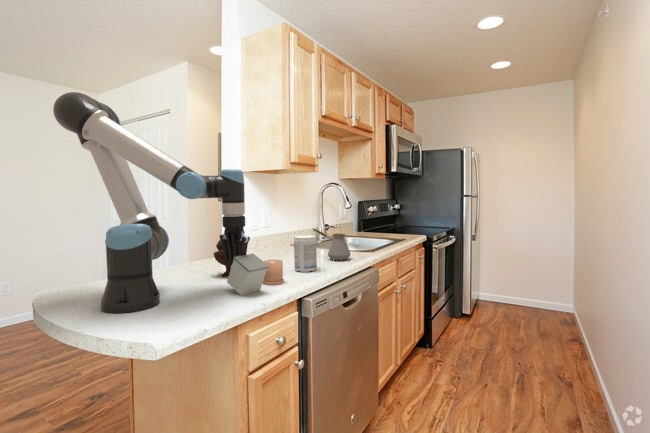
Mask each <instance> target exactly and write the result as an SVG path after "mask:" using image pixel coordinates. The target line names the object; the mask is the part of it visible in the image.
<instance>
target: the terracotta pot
mask: <svg viewBox="0 0 650 433" xmlns="http://www.w3.org/2000/svg"><path fill="white" fill-rule="evenodd" d="M263 262H264V263H266V264H267V265H268V266H269V267H268V268H267V271H266V274H265V277H264V280H263V283H262V285H265V286H280V285H282V284H284V283H285V279H284V273H283V272H284V271H283V270H284V268H283V267H284V266H283V265H284V264H283V263H284V262H283V260H281V259H266V260H263ZM279 284H280V285H279Z"/></svg>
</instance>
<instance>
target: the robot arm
mask: <svg viewBox="0 0 650 433" xmlns="http://www.w3.org/2000/svg"><path fill="white" fill-rule="evenodd" d="M52 110H53V116H54V119H55V120H56V121H57V123H58V124H59V125H60V126H61V127H62V128H63V129H65V130H67V131H69V132H72V133H74V134H76V136H77V138H78V140H79V142H80V145H81V148H83V149H85V150H87V151H89V152H90V155H91V156H92V159H93V160H94V163H95V165H96V167H97V170H98V172H99V174H100V176H101V178H102V181H103V184H104V186H105V188H106V190H107V192H108V195H109V197H110V200H111V202H112V205H113V207H114V209H115V212H116V214H117V216H118V218H119V221H120V223H119V225H115V226H112V227H110V228H108V229H107V231H106V233H105V240H104V244H105V254H106V256H105V257H106V276H107V277H106V278H107V281H106V285H105V288H104V292H103V294H102V297H101V301H100V310H101V311H102V312H105V313H111V314H112V313H113V314H115V313H116V314H119V313H132V312H138V311H142V310H147V309H150V308H152V307H155V306H157V305H159V303H160V302H161V300H160V296H161V295H160V292H159V290H158V287H157V285H156V282H155V279H154V277H153V276H154V275H153V261H154V260H156V259H159V258H160V257H161V256H163V255H164V253H166V251H167V249H168V247H169V243H170V238H169V234H168V232H167V231H166V229H165V228H164V227H162V226H161V225H160V223H159V221H158V218H157V217H156V215H155V214H153V213H151V212H149V210H148V207H147V206H146V203H145V201H144V198H143V196H142V193H141V191H140V189H139V186H138V185H137V184H138V183H137V181H136V179H135V178H134V177H135V176H134V175H133V173H132V169H131V168H130V166H129V163H131V164H133V165H135V166H136V167H138V168H139V169H141V170H142V171H144V172H146V173H147V174H149V175H151V176H152V177H154V178H156V179H157V180H159V181H161V182H163V183H164V184H166V185H167V186H169V187H171V188H172V189H173V190H175V191H176V192H178V194H179V195H180V196H182V197H184V198H186V199H188V200H196V199H220V198H221V214H222V220H221V223H222V228H224V231H223V232H224V233H223V234H220V235H219V240H221V242H222V247H223V252H224V257H225V262H226V263H229V265H230V270H231V267H232V264H233V260H234V259H233V258H234V257H236V256H242V255H247V252H248V245H249V242H250V240H251V236H247V235H245V230H244V227H245V226H246V216H245V213H246V209H245V208H246V207H245V179H244V178H245V177H244V176H245V175H244V171H243V170H241V169H235V168H234V169H233V168H231V169H229V168H228V169H221V170H220V174H218V175H201V174H199V173H198V172H196V171H194V170H193V169H191V168H190V167H187V165H185V164H183V163H181V161H178V160H176V159H175V158H173V157H172V156H170V155H169V154H167V153H165V152H164V151H162V150H161V149H159V148H158V147H156V146H154V145H152V144H151V143H149V142H148V141H146V140H145V139H143V138H141V137H140V136H138V135H137V134H135V133H133V132H132V131H130V130H129V129H127V128H125V127H124V126H123V125H121V120H120V117H119V116H118V114H117V113H116V112H115V111H114V110H113V109H112V108H111V107H110V106H109V105H107V104H105V103H104V102H100V101H98V100H96V99H94V98H92V97H91V96H89V95H87V94H85V93H81V92H78V91H75V92H73V91H71V92H66V93H64V94H61V95H60V96H58V97H57V99H56V100H55V102H54V104H53V109H52ZM128 162H129V163H128ZM228 258H229V259H228Z"/></svg>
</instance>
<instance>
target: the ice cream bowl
mask: <svg viewBox="0 0 650 433" xmlns="http://www.w3.org/2000/svg"><path fill="white" fill-rule="evenodd" d="M215 248H216V249H217V251H214V252H213V257H214V259H215V261H217V262H218V264H220V265H223V266H225V271H224V272H223V273H221V275H220V277H223V278H228V277H229V273H230V265H229V263H226V262H225V257H224V252H223V247H222V242H221V240H220V239H219V241H217V244H216V247H215ZM228 259H229V258H228Z"/></svg>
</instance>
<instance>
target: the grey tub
mask: <svg viewBox="0 0 650 433" xmlns="http://www.w3.org/2000/svg"><path fill="white" fill-rule="evenodd" d="M233 259H234V260H233V264H232V267H231V270H230V273H229V277H227V280H226V283H227V284H228V285H229V286H230V287H232V289H234V291H236V293H238V295H240V296H241V297H243V296H246V295H248V294H253V293H256V292H260V291H261V288H262V286H263V280H264V277H265V274H266V271H267V268H268V267H269V266H268V265H267V264H266V263H264V260H262V259H261V258H260V257H258V256H257V255H256V254H255V253H248V254H246V255H242V256H236V257H234V258H233Z"/></svg>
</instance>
